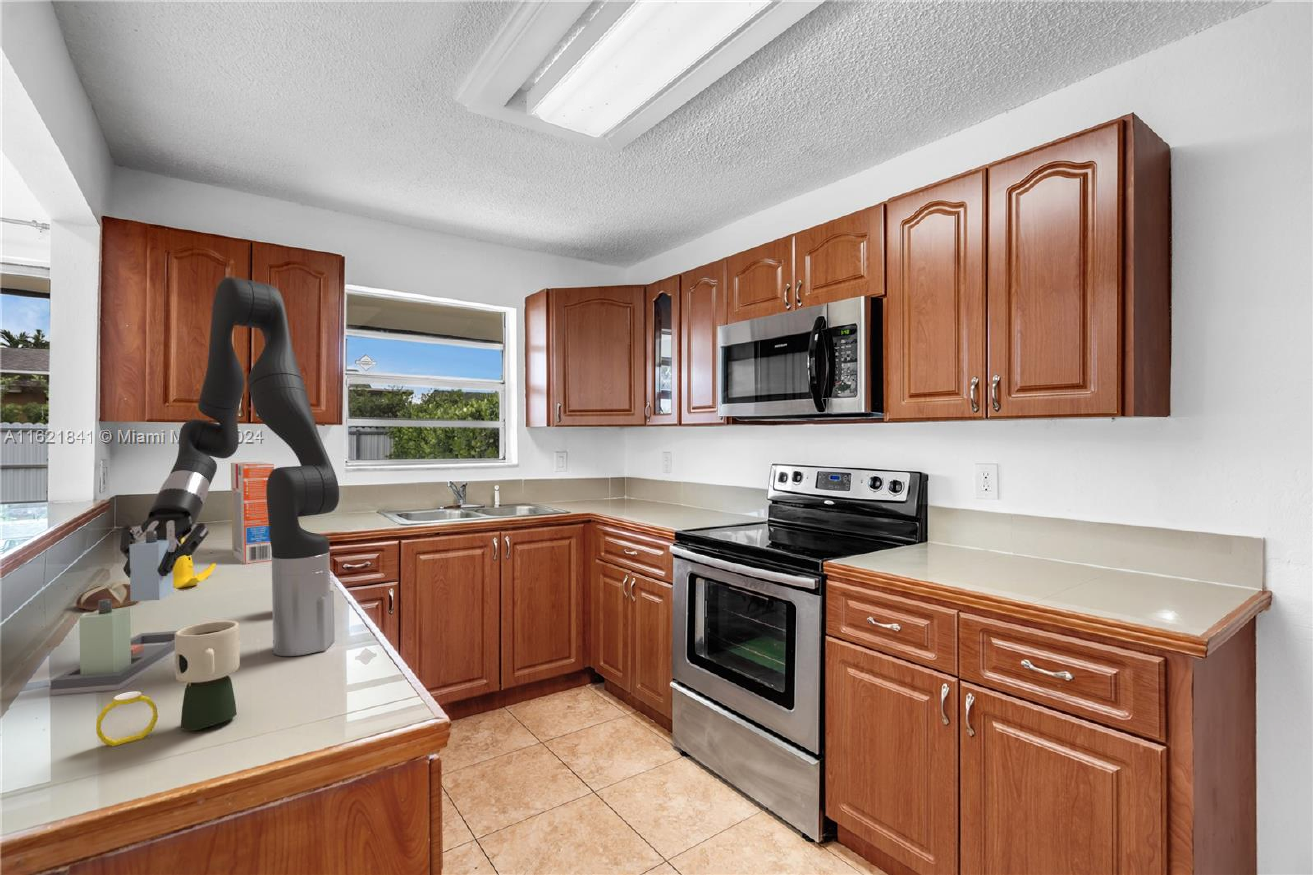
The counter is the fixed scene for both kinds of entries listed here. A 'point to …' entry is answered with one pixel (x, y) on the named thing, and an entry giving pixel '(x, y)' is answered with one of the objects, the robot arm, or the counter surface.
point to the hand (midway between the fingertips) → (145, 574)
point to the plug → (149, 569)
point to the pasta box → (250, 512)
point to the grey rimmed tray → (144, 657)
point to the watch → (122, 700)
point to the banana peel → (188, 572)
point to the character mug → (207, 672)
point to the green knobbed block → (105, 639)
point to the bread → (106, 596)
